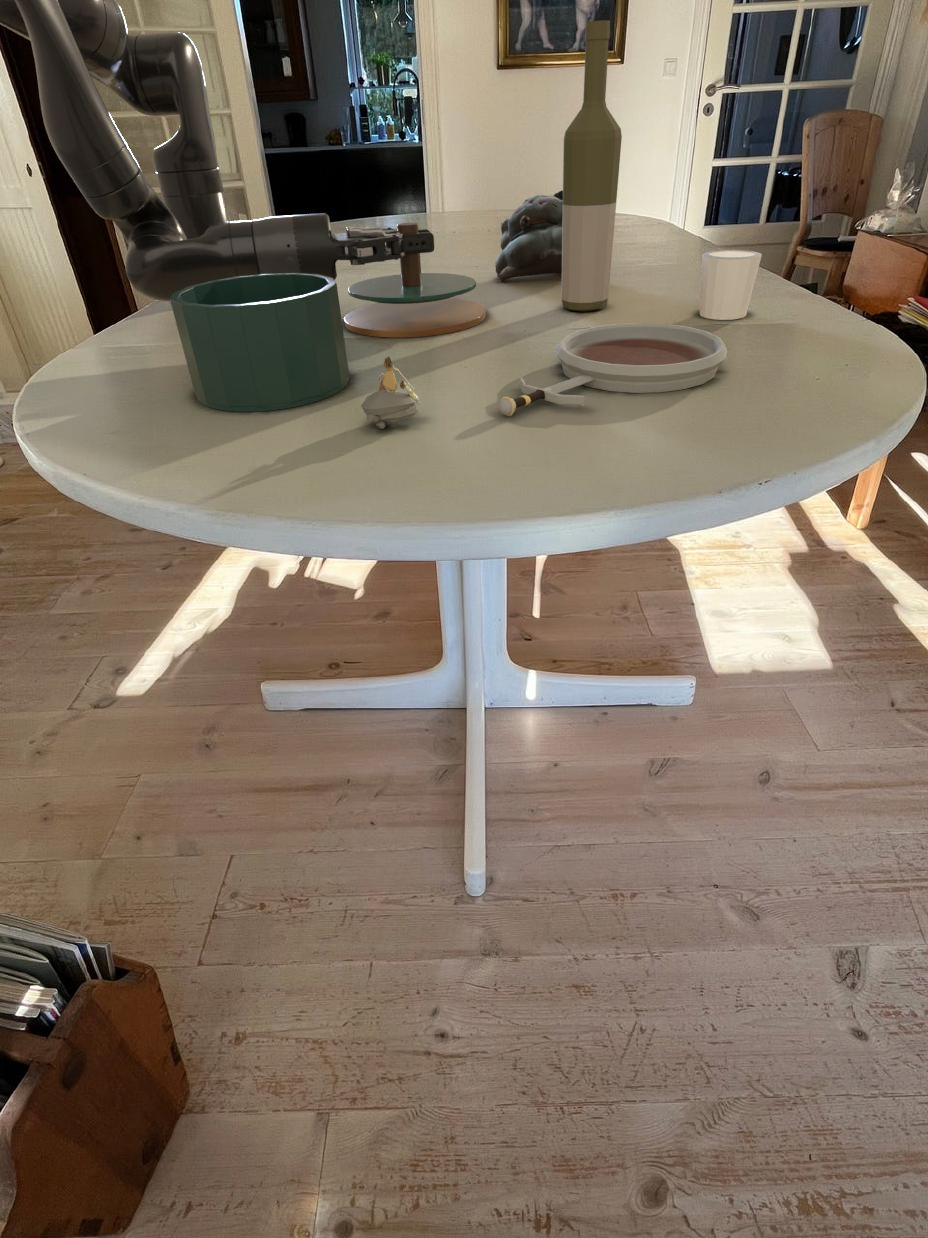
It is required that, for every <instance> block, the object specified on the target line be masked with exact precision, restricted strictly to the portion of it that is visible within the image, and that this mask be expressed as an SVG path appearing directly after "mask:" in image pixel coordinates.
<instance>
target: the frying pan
mask: <svg viewBox="0 0 928 1238" xmlns="http://www.w3.org/2000/svg"><path fill="white" fill-rule="evenodd" d="M555 351H556V357H557V358H558V360H559V361H560V363H561V367H562V372H563V374H564V375H565V376H566V377H567V378H568V379H566V380H564V381H561V382H557V383H555V384H552V385H549V386H546V387H544V388H540V387H536V386H532V385H529V384H526V382H525V380H524V378H522V377H519V388H520V390H521V392H522V395H520V396H519V397H516V398H511V397H509V396H503V397H501V400H500V401H499V403H498V410H499V411H500V413H501V414H503V415H505V416H506V417H511V416H512V415H514V413H515V411H516V409H518V408H520V407H524V406H528V405H529V404H531V403H534V402H537V401H540V400H542V401H547V402H550V403H553V404H556V405H561V406H562V405H563V406H581V407H584V406H586V395H577V394H561V393H562V392H567V391H569V390H571V389H575V388H577V387H580V386H585V387H588V388H593V389H596V390H597V389H598V390H603V391H608V392H618V393H632V394H642V393H643V394H647V393H651V394H652V393H667V392H674V391H681V390H682V391H683V390H687V389H690V388H693V387H694V388H695V387H698V386H701V385H704V384H705V383H707V382H709V381H710V380H712V379H714V377H715V376H716V373H717V371H718V368H719V367H720V365H721V364H722V363H723V362H725V360H726V357H727V355H728V352H729V351H728V349H727V346H726V344H725V343H724V341H723V340H722V339H721V337H720V336H718V335H716V334H714V333H711V332H709V331H707V330H703V329H699V328H695V327H690V326H686V325H677V324H669V323H657V322H655V323H654V322H627V323H614V324H613V323H612V324H603V325H595V326H592V327H587V328H583V329H579V330H577V331H574V332H572V333H569V334H566V336H564V337H563V339H562V340H560V342H558V345H557V347H556V349H555Z"/></svg>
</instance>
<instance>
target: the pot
mask: <svg viewBox="0 0 928 1238" xmlns="http://www.w3.org/2000/svg"><path fill="white" fill-rule="evenodd" d="M339 297H340V296H339V291H338V283H337V282H336V279H335V280H334V279H333V278H331V277H327V276H323V275H319V274H306V273H271V274H258V275H247V276H237V277H231V278H225V279H219V280H213V281H208V282H204V283H200V284H196V285H192V286H188V287H186V288H184V289H181V290H179V291H177V292H175V293H173V294H172V296H171V299H170V301H169V302H170V305H171V309H172V312H173V317H174V320H175V324H176V327H177V331H178V335H179V339H180V343H181V346H182V350H183V353H184V358H185V361H186V364H187V368H188V372H189V377H190V380H191V384H192V387H193V392H194V395H195V396H196V398H197V400H198V402H200V404H201V405H204V406H206V407H207V408H211V409H215V410H220V411H224V412H225V411H226V412H237V413H250V412H251V413H256V412H270V411H277V410H278V411H279V410H285V409H291V408H297V407H301V406H305V405H309V404H314V403H316V402H319V401H322V400H325V399H327V398H329V397H332V396H333V395H336V394H338V393H339V392H340V391H342V390H343V389H344V388H346V387H347V385H348V383H349V380H350V371H349V364H348V355H347V350H346V341H345V334H344V326H343V320H342V313H341V305H340V299H339Z"/></svg>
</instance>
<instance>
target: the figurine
mask: <svg viewBox="0 0 928 1238" xmlns="http://www.w3.org/2000/svg"><path fill="white" fill-rule="evenodd" d="M392 361H393V360H392V358H391V356H386V357H385V358H384V361H383V368H384V370H385V373H384V372H381V373H380V374H379V376H378V386H379V388H378V390H377V391H374V392H373V393H371V394H369V395H367V396H366V397H365V398H364V399H365V400H364V401H363V402H362V404H361V405H360V406H361V409H362V410H363V413H364V414H365V415H366V420H368V421H371V422H373V423H375V426H376V427H377V428H378V429H380V430H383V429H385V428H386V425H387V424H388V425H389V424H390V425H396V424H397V423H398V422H399V421H402V420H405V419H409V418H412V417H414V416H416V415H418V414H419V413H420V408H419V407H418V405H422V403H421V401H419V396H418V394H416V393H415V387H414V386H413V385H411V384H410V383H409V381H408V380H407V378H406V377H405V376H404V375H403V374H402V373H401V371H400V369H399V368H398V367H396V366H395V365H394V364H393V363H392ZM394 371H395V372H397V371H398V373H399V374H400V375H401V377H402V378H403V379H404V380H405V381H404V380H401V381H400V383H399V387H400V389H401V390H405V389H406V392H407V393H406V392H401V391H397V390H398V382H397V378H396V375H395V372H394Z"/></svg>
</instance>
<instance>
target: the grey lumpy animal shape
mask: <svg viewBox="0 0 928 1238" xmlns="http://www.w3.org/2000/svg"><path fill="white" fill-rule="evenodd" d="M562 219H563V189H562V190H559V191H558V192H556V193H554V194H553V195H551V194H548V195H545V194H537V195H534V196H532V197H531V196H530V197H528V198H526V199H525V200H524V201H523V202H522V204H521V205H519V207H517V208H516V209H515V210H514V211H513V212H512V213H511V214H510V218H507V217H505V220H504V221H503V222H500V232H501V237H500V249H501V252H500V253H499V255H498V256H497V259H496V260H495V262H494V265H495V266H494V267H495V273H496V275H497V276H496V277H497V278H498V279H499V280H500V282H504V281H505V280H509V279H513V278H519V277H532V276H542V275H549V274H550V275H552V274H557V275H562Z"/></svg>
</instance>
